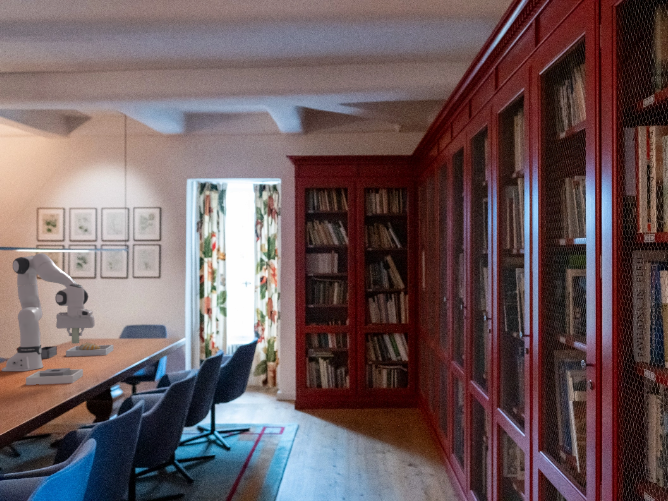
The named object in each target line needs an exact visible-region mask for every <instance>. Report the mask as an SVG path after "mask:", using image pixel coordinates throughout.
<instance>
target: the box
mask: <svg viewBox="0 0 668 501" xmlns="http://www.w3.org/2000/svg"><path fill="white" fill-rule="evenodd" d="M82 377H84V369H83V368H79V369H78V368H77V369H74V368H73V369H71V367H65V368H64V367H62V368H61V367H60V368H47V369H45V370H38V371H36V372H34V373H32V374H30V375H28V376H26V377H25V386H33V385H35V386H37V385H36V384H39V385H56V384H59V385H60V384H73V383H75V382H76V381H78V380H80V378H81V379H82Z"/></svg>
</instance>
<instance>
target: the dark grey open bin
mask: <svg viewBox="0 0 668 501" xmlns="http://www.w3.org/2000/svg"><path fill="white" fill-rule="evenodd" d="M57 347H58V346H56V345H55V346H54V345H52V346H43V347H41V360H43V359H46V360H47V359H48V360H49V359H51V358H52V357H55V356H57V354H58V348H57Z"/></svg>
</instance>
